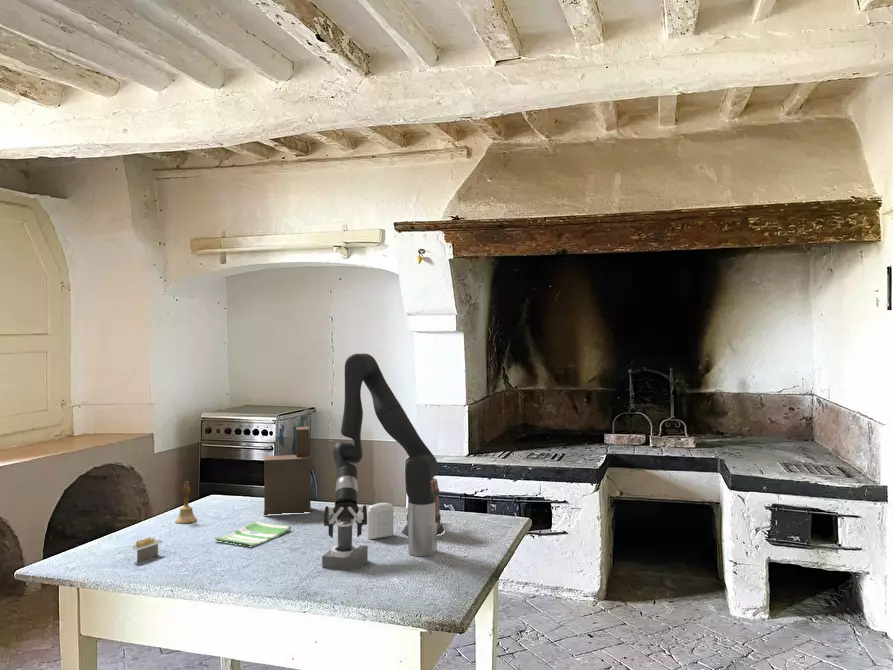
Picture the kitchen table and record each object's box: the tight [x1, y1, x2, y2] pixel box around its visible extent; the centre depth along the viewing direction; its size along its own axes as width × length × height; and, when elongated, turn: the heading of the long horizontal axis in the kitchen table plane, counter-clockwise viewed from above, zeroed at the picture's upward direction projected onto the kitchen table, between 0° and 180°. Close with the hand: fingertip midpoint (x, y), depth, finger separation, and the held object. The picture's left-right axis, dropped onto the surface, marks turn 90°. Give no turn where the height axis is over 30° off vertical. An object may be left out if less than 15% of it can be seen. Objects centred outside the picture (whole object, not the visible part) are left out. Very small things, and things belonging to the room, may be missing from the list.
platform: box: [132, 536, 163, 562], centre depth 218 cm, size 12×18×7 cm, turn 153°
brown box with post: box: [263, 426, 312, 516], centre depth 279 cm, size 19×14×35 cm
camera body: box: [321, 544, 369, 571], centre depth 211 cm, size 12×9×5 cm
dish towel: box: [214, 520, 292, 548], centre depth 242 cm, size 18×23×3 cm
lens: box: [336, 520, 353, 552], centre depth 211 cm, size 5×5×10 cm
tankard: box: [401, 477, 445, 537], centre depth 250 cm, size 24×17×20 cm
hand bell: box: [175, 481, 198, 525], centre depth 264 cm, size 8×8×16 cm
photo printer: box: [366, 502, 394, 540], centre depth 241 cm, size 10×4×12 cm, turn 123°
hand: (345, 536), depth 210 cm, fingers open, 8 cm apart
